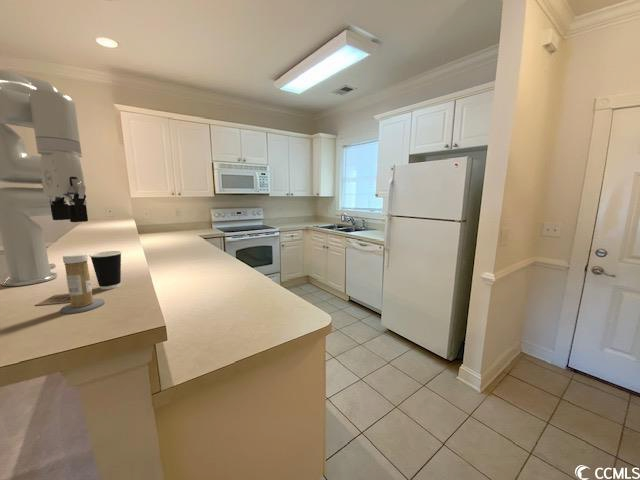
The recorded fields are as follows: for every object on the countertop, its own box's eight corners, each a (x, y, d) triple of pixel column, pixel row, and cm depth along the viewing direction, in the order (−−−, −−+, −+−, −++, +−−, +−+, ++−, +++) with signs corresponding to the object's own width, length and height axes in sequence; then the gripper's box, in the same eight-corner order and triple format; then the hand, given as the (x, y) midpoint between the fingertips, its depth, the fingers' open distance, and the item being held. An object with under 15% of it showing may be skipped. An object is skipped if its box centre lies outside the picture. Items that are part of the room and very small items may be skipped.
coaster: (73, 302, 70) (73, 300, 70) (110, 299, 73) (110, 297, 73) (52, 315, 63) (52, 313, 62) (94, 311, 65) (94, 309, 65)
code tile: (55, 295, 76) (55, 294, 76) (88, 292, 78) (88, 291, 78) (35, 306, 68) (34, 305, 68) (72, 302, 71) (72, 301, 71)
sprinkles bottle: (98, 302, 69) (91, 252, 67) (78, 309, 65) (70, 256, 63) (86, 300, 71) (79, 251, 69) (65, 307, 66) (57, 255, 64)
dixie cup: (87, 290, 80) (82, 255, 78) (111, 282, 88) (106, 250, 86) (109, 291, 79) (105, 256, 77) (131, 283, 87) (128, 251, 85)
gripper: (23, 148, 62) (35, 220, 65) (53, 142, 55) (65, 224, 57) (64, 153, 69) (73, 218, 72) (97, 148, 61) (106, 221, 64)
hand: (70, 220), depth 64 cm, fingers open, 9 cm apart
